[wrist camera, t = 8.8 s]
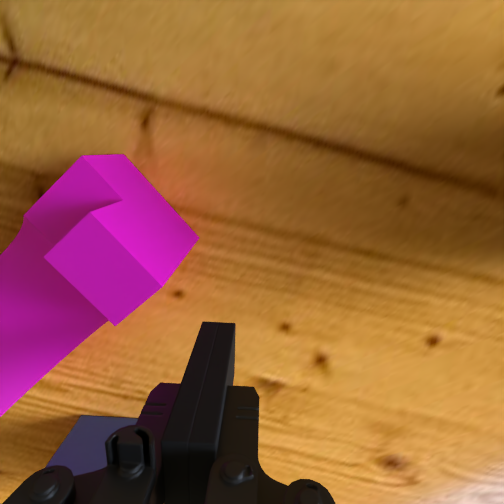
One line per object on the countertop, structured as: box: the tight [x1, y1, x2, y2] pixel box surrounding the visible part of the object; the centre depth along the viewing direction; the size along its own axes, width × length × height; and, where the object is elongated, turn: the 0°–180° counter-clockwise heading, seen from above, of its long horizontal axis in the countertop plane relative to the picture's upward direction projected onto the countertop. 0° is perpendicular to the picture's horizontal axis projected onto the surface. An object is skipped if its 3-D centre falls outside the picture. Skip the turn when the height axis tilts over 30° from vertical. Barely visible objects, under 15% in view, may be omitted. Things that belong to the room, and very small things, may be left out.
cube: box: [46, 415, 138, 476], centre depth 23 cm, size 5×5×5 cm
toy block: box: [0, 154, 199, 417], centre depth 18 cm, size 15×6×8 cm, turn 130°
